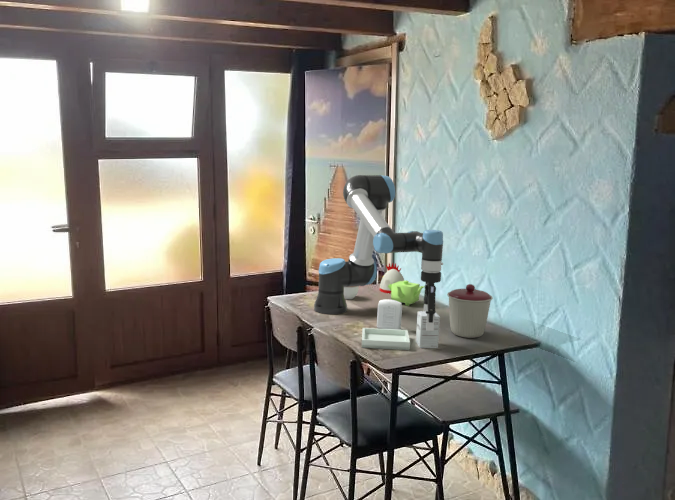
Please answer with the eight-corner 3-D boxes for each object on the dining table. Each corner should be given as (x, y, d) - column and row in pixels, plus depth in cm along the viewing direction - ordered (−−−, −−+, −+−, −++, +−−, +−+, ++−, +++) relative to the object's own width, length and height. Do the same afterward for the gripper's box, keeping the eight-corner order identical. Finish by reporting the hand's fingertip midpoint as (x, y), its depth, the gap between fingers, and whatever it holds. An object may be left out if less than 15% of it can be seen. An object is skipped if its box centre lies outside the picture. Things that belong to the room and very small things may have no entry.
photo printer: (401, 328, 264) (403, 299, 262) (399, 331, 260) (401, 302, 258) (378, 325, 267) (379, 297, 265) (375, 328, 263) (376, 299, 261)
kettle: (424, 306, 301) (425, 283, 299) (396, 307, 298) (397, 284, 296) (413, 299, 316) (414, 277, 314) (386, 299, 312) (387, 277, 310)
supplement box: (415, 342, 246) (417, 310, 244) (433, 342, 247) (435, 311, 245) (419, 348, 239) (421, 315, 237) (438, 348, 240) (440, 316, 237)
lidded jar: (335, 295, 318) (336, 277, 316) (356, 295, 319) (357, 277, 318) (338, 300, 307) (338, 281, 306) (359, 300, 309) (360, 281, 307)
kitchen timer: (383, 287, 341) (384, 259, 338) (408, 289, 336) (409, 262, 334) (376, 292, 328) (377, 264, 325) (402, 295, 323) (404, 266, 321)
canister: (435, 332, 261) (438, 282, 257) (465, 325, 271) (468, 277, 268) (468, 343, 246) (472, 291, 243) (498, 336, 257) (503, 286, 253)
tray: (361, 347, 237) (361, 339, 237) (362, 334, 253) (362, 327, 252) (409, 350, 236) (409, 342, 236) (407, 337, 252) (407, 329, 252)
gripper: (445, 277, 226) (441, 335, 229) (437, 265, 250) (434, 317, 253) (424, 277, 226) (421, 334, 229) (418, 264, 251) (416, 316, 254)
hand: (428, 325), depth 241 cm, fingers open, 13 cm apart
